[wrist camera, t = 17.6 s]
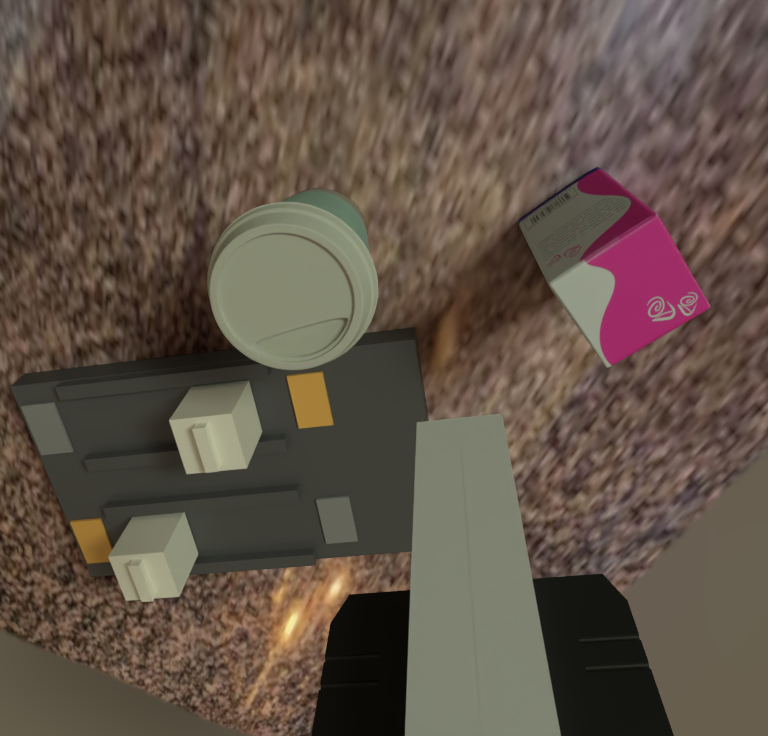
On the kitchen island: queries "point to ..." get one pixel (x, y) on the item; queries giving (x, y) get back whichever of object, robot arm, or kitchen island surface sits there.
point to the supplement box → (611, 265)
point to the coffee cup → (294, 280)
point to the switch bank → (267, 465)
